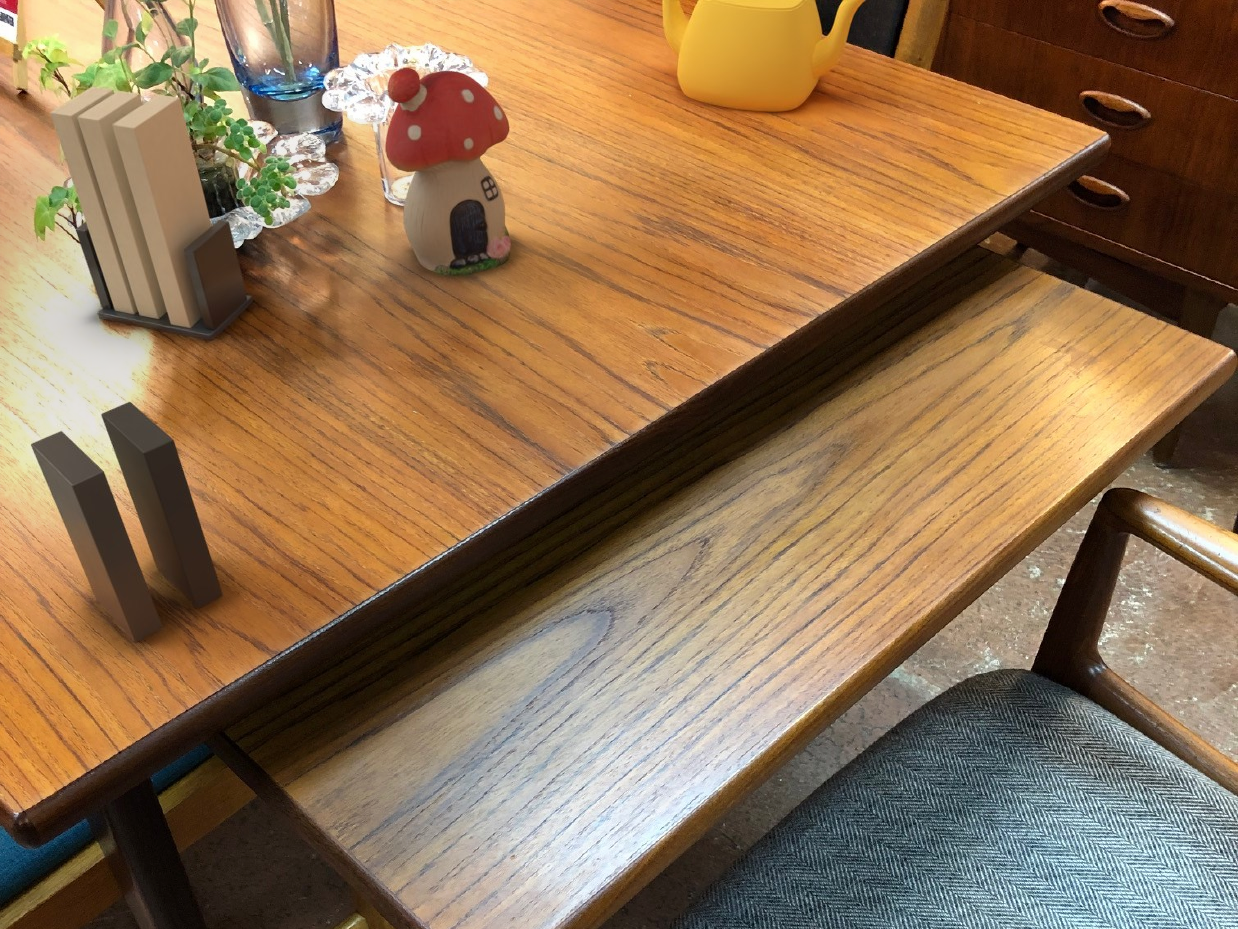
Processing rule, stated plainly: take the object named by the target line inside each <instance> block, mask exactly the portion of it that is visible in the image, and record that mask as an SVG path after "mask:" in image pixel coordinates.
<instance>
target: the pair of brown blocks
mask: <svg viewBox="0 0 1238 929" xmlns="http://www.w3.org/2000/svg"><path fill="white" fill-rule="evenodd" d="M100 415H101V418H102V422H103V424H104V427H105V430H106V432H107V435H108V438H109V441H110V443H111V446H112V449H113V451H114V454H115V456H116V459H117V463H118V465H119V467H120V471H121V474H122V476H123V479H124V482H125V484H126V488H127V490H128V492H129V495H130V498H131V502H132V504H133V506H134V509H135V512H136V515H137V517H138V520H139V523H140V525H141V528H142V531H143V534H144V536H145V539H146V542H147V545H148V547H149V550H150V554H151V556H152V559H153V561H154V565H155V566H156V569H157V571H158V572H159V573H160V574H161V575H162V576H163V577H164V578H165V579H166V580H167V581H168V582H169V584H170V585H172V586H173V587H174V588H175V589H176V590H177V591H178V592H179V593H180V595H182V596H183V597H184V598H185V599H186V600H187V601H188V602H189V603H190V604H191V605H192V606H193V607H194V608H195V609H196V610H199V609H201V608H203V607H205V606H207V605H209V604H210V603H212V602H214V601H217V600H218V599H220V598H221V597H223V596H224V594H223V591H222V588H221V585H220V582H219V577H218V575H217V572H216V569H215V566H214V562H213V560H212V556H211V553H210V550H209V547H208V543H207V541H206V540H207V539H206V537H205V533H204V531H203V528H202V524H201V522H200V518H199V515H198V512H197V508H196V506H195V503H194V499H193V495H192V493H191V490H190V486H189V483H188V481H187V477H186V474H185V470H184V468H183V465H182V461H181V458H180V455H179V452H178V449H177V446H176V442H175V440H174V439H173V438H172V437H171V436H170V435H169V434H168V433H167V432H166V431H164V430H163V429H162V428H161V427H160V426H159V425H158V424H157V423H155V422H154V421H153V420H152V419H151V418H150V417H148V416H147V415H146V414H145V413H144V412H142V410H140V408H138V407H137V406H136V405H135V404H134V403H133V402H132V401H128V402H125V403H122V404H121V405H118V406H116V407H114V408H112V409H109V410H107V411H105V412H102V413H100ZM30 447H31V449H32V451H33V452H32V453H33V454H34V457H35V459H36V462H37V463H38V466H39V468H40V471H41V473H42V475H43V478H44V479H45V482H46V485H47V487H48V489H49V492H50V494H51V496H52V498H53V501H54V503H55V505H56V508H57V510H58V513H59V515H60V518H61V519H62V522H63V524H64V527H65V529H66V531H67V534H68V536H69V539H70V541H71V542H72V546H73V548H74V550H75V553H76V555H77V558H78V560H79V562H80V565H81V567H82V569H83V572H84V574H85V576H86V579H87V581H88V584H89V586H90V589H91V590H92V593H93V595H94V597H95V600H96V602H97V603H98V604H99V605H100V606H101V607H102V608H103V609H104V611H106V613H108V615H109V616H110V617H111V618H112V619H113V620H114V621H115V623H117V624H118V626H119V627H120V628H121V629H122V630H123V632H125V633H126V635H127V636H128V637H129V638H130V639H131V640H132V641H133V642H134V643H138V642H140V641H142V640H144V639H145V638H147V637H149V636H151V635H153V634H155V633H156V632H158V631H160V630H162V629H163V627H164V626H163V624H162V622H161V618H160V616H159V614H158V611H157V607H156V605H155V603H154V600H153V598H152V595H151V593H150V590H149V587H148V584H147V581H146V579H145V576H144V574H143V571H142V569H141V566H140V563H139V561H138V558H137V555H136V553H135V550H134V547H133V544H132V542H131V539H130V537H129V534H128V531H127V528H126V526H125V523H124V520H123V518H122V515H121V513H120V511H119V510H120V509H119V508H118V505H117V502H116V500H115V499H116V498H115V497H114V494H113V491H112V488H111V486H110V484H109V481H108V478H107V476H106V473H105V471H104V470H103V469H102V468H101V467H100V466H99V465H98V464H97V463H96V462H95V461H93V460H92V459H91V458H90V456H88V455H87V454H86V453H85V452H84V451H83V450H82V449H81V448H80V447H79V446H78V445H77V444H76V443H75V442H74V441H73V440H72V439H71V438H70V437H69V436H68V435H67V434H65V433H64V431H63V430H60V431H58V432H55V433H53V434H50V435H47V436H46V437H43V438H42V439H39V440H37V441H34V442H31V443H30Z"/></svg>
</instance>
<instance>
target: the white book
mask: <svg viewBox="0 0 1238 929" xmlns="http://www.w3.org/2000/svg"><path fill="white" fill-rule="evenodd" d="M142 104H143V105H142V106H140V107H138V108H137V109H135V110H134V111H132V112H131V113H129V114H128V115H126V116H125V117H123V118H122V119H120V120H119V121H117V122H116V123H114V124H113V125H112V126H113V129H114V133H115V136H116V139H117V143H118V146H119V150H120V153H121V156H122V160H123V163H124V167H125V170H126V173H127V177H128V180H129V183H130V187H131V190H132V194H133V197H134V200H135V204H136V207H137V211H138V214H139V217H140V221H141V224H142V228H143V231H144V234H145V238H146V241H147V245H148V248H149V251H150V255H151V258H152V262H153V265H154V268H155V272H156V275H157V279H158V282H159V285H160V289H161V292H162V296H163V299H164V302H165V306H166V309H167V312H168V316H169V319H170V323H171V324H172V325H177V326H182V327H187V328H191V327H192V326H193V325H194V324H196V323H197V322H198V321H199V320H200V319H201V318H202V315H201V311H200V307H199V303H198V300H197V296H196V292H195V289H194V285H193V281H192V278H191V274H190V270H189V267H188V263H187V259H186V256H185V252H184V249H185V248H186V247H187V246H188V245H190V244H191V243H192V242H193V241H195V240H196V239H197V238H198V237H199V236H201V235H202V234H203V233H204V232H205V231H207V230H208V229H209V228H210V227H211V226H212V222H211V218H210V214H209V210H208V206H207V202H206V198H205V193H204V189H203V186H202V183H201V179H200V174H199V171H198V167H197V163H196V159H195V154H194V149H193V146H192V142H191V138H190V134H189V131H188V126H187V123H186V119H185V114H184V111H183V105H182V102H181V99H180V97H179V96H172V95H164V94H157V95H155V96H154V97H152V98H151V99H149V100H148V101H146V102H145V103H142Z"/></svg>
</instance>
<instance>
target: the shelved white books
mask: <svg viewBox="0 0 1238 929" xmlns="http://www.w3.org/2000/svg"><path fill="white" fill-rule="evenodd" d="M143 104H144V103H143V101H142V97H141V94H140V93H137V92H131V91H130V92H129V91H124V90H118V91H116V92H115V90H114V89H111V88H105V87H98V86H91V87H89V88H87V89H86V90H84V91H82V92H81V93H79V94H77V95H76V96H74V97H73V98H71V99H69V100H68V101H65V103H63V104H61V105H59V106H58V107H56V108H54V109H52V111H50V112H49V114H50V117H51V120H52V123H53V126H54V129H55V133H56V135H57V138H58V141H59V145H60V147H61V148H60V149H61V150H62V153H63V157H64V160H65V162H66V166H67V168H68V172H69V175H70V178H71V181H72V184H73V187H74V190H75V193H76V196H77V199H78V203H79V206H80V208H81V212H82V215H83V217H84V221H85V222H86V224H87V227H88V230H89V233H90V236H91V239H92V242H93V245H94V248H95V251H96V254H97V257H98V260H99V263H100V266H101V269H102V272H103V275H104V278H105V281H106V284H107V287H108V290H109V293H110V296H111V299H112V302H113V306H114V309H115V311H120V312H125V313H130V314H135V313H136V312H139V315H140V316H145V317H150V318H155V319H159V318H161V317H162V316H163V315H164V314H165V313H166V312H167V309H166V306H165V302H164V299H163V296H162V292H161V289H160V285H159V282H158V279H157V275H156V272H155V268H154V265H153V262H152V258H151V255H150V251H149V248H148V245H147V241H146V238H145V234H144V231H143V228H142V224H141V221H140V217H139V214H138V211H137V207H136V204H135V200H134V197H133V194H132V190H131V187H130V183H129V180H128V177H127V173H126V170H125V167H124V163H123V160H122V156H121V153H120V150H119V146H118V143H117V139H116V136H115V133H114V129H113V126H112V125H113V124H114V123H116V122H117V121H119V120H120V119H122V118H123V117H125V116H126V115H128V114H129V113H131V112H132V111H134V110H135V109H137V108H138V107H140V106H142V105H143Z"/></svg>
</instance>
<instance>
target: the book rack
mask: <svg viewBox="0 0 1238 929" xmlns="http://www.w3.org/2000/svg"><path fill="white" fill-rule="evenodd" d="M75 232H76V235H77V239H78V242H79V245H80V247H81V250H82V254H83V256H84V260H85V262H86V265H87V268H88V271H89V274H90V277H91V281H92V283H93V285H94V289H95V292H96V295H97V297H98V301H99V304H100V307H101V309H100V310H99V311H97V314H96V315H97V317H98V319H100V320H106V321H109V322H115V323H120V324H124V325H125V324H126V325H130V326H134V327H141V328H145V329H150V330H155V331H159V332H164V333H168V334H169V333H170V334H174V335H178V336H179V335H180V336H183V337H188V338H194V339H199V340H202V341H203V340H204V341H208V342H213V340H215V339H216V338H217V337H218V336H219V335H220V334H221V333H222V332H223V331H224V330H225V329H226V328H228V326H229V325H231V324H232V323H233V322H234V321H235V320H236V319H237V318H238V317H239V316H240V315H241V314H243V312H244V311H245V310H247V309H248V308H249V307H250V306H251V305H252V304H253V303H254V299H253V296H252V295H247V292H246V288H245V283H244V279H243V275H242V271H241V270H242V269H241V267H240V262H239V258H238V253H237V250H236V246H235V242H234V237H233V232H232V228H231V225H230V222H229V221H227V220H223V219H222V220H221V219H219V220H217V221H216V222H215V223H214V224H213V225H211V227H210V228H209V229H208V230H207V231H205V232H204V233H203V234H202V235H201V236H199V237H198V238H197V239H196V240H195V241H193V242H192V243H191V244H190V245H188V246H187V247H186V248H185V249H184V252H185V256H186V259H187V263H188V267H189V270H190V274H191V278H192V281H193V285H194V289H195V292H196V296H197V300H198V303H199V307H200V311H201V315H202V318H201V319H200V320H199V321H198V322H197V323H196V324H194V325H193V326H192V327H191V328H187V327H182V326H177V325H172V324H171V323H170V319H169V316H168V312H166V313H165V314H164V315H163V316H162V317H161V318H159V319H155V318H150V317H145V316H140V315H139V312H136V313H135V314H130V313H125V312H120V311H115V309H114V306H113V302H112V299H111V296H110V293H109V290H108V287H107V284H106V281H105V278H104V275H103V272H102V269H101V266H100V263H99V260H98V257H97V254H96V251H95V248H94V245H93V242H92V239H91V236H90V233H89V230H88V227H87V224H86V221H85V222H82V224H80V225H79V226H77V227H76V228H75Z"/></svg>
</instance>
